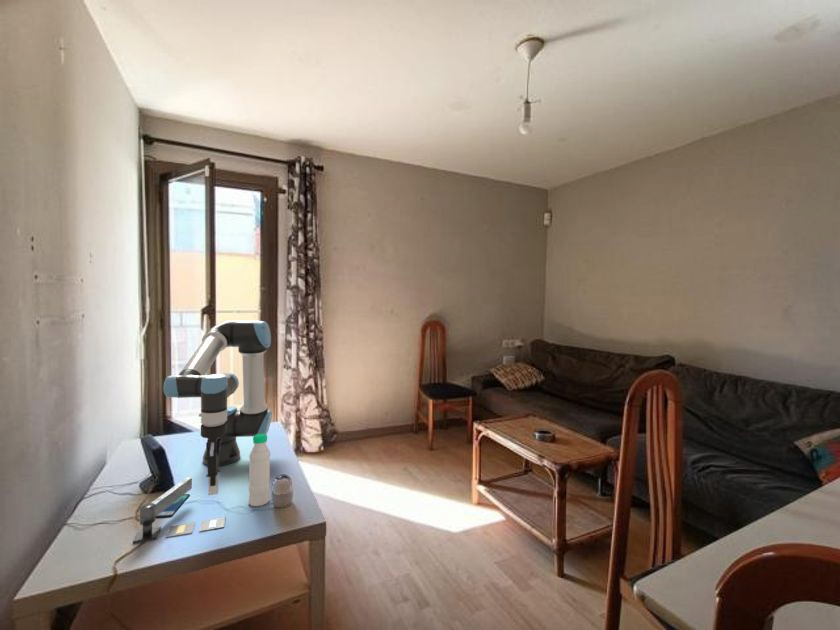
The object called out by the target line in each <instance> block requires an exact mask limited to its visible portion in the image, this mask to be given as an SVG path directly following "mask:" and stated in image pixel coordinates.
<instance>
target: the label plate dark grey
mask: <svg viewBox="0 0 840 630" xmlns="http://www.w3.org/2000/svg"><path fill="white" fill-rule="evenodd" d="M200 523H201V524H200V528H199V530H198V531H199V532H198V533H201V532H208V531H214V530H218V529H224V528H225V525H226V524H225V523H226V516H224V517H223V516H221V517H217V518H211V519H206V520H205V519H204V520H201V522H200Z"/></svg>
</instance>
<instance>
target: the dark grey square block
mask: <svg viewBox="0 0 840 630" xmlns="http://www.w3.org/2000/svg"><path fill="white" fill-rule="evenodd" d="M161 530H162V526H161V525H159V526H154V527H153V523H151V524H149V525H142V528H141V529H138V530H137V532H136V535H134V538H133V540H132V545H135V544H139V543H144V542H146V543H147V542H151V541H157V539H158V537H159V534H160V532H161Z"/></svg>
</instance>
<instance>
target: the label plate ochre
mask: <svg viewBox="0 0 840 630" xmlns="http://www.w3.org/2000/svg"><path fill="white" fill-rule="evenodd" d="M195 525H196V522H195V521H193V522H187V523H186V522H185V523H181V524H175V525H169V526H170V527H169V529H168V532H167V534H166V536H165V539H167V538H169V539H170V538H174V537H179V536H186V535H191V534H193V531H194V528H195Z"/></svg>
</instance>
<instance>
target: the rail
mask: <svg viewBox="0 0 840 630" xmlns="http://www.w3.org/2000/svg"><path fill="white" fill-rule="evenodd" d="M192 479H193V478H192V477H190V476H189V477H185V478H184V479H182V480H181V481H179V482H178V483H177V484H174V486H172V487H171V488H170V489H168V490H167V491H166V492H164V493H163V494H161V495H160V496H158V497H157V498H156V499H155V500H153V501H151V502H148V503H144V504H142V505H141V506H140V507H139V525H140V526H143V525H149V524H151V523H152V524H153V523H154V522H155V521H156V518H155V517H156V516H157V515H158V514H160V513H161V512H162V511H163V510H165V509H166V508H167V507H169V506H170V505H171V504H172V503H174V502H175V501H176V500H178V499H179V498H180V497H181V496H183V495H184V494H188V492H190V490H192V488H193V480H192Z"/></svg>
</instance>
